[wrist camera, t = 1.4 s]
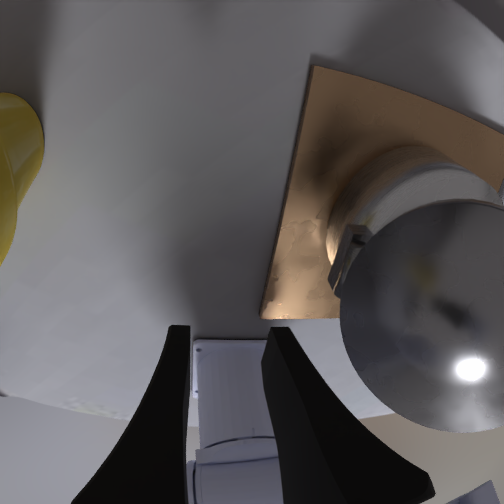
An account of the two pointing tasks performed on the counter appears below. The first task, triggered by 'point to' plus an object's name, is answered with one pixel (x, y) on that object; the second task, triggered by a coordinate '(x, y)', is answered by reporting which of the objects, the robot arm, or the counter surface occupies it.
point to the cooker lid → (430, 314)
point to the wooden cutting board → (366, 180)
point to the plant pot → (16, 161)
